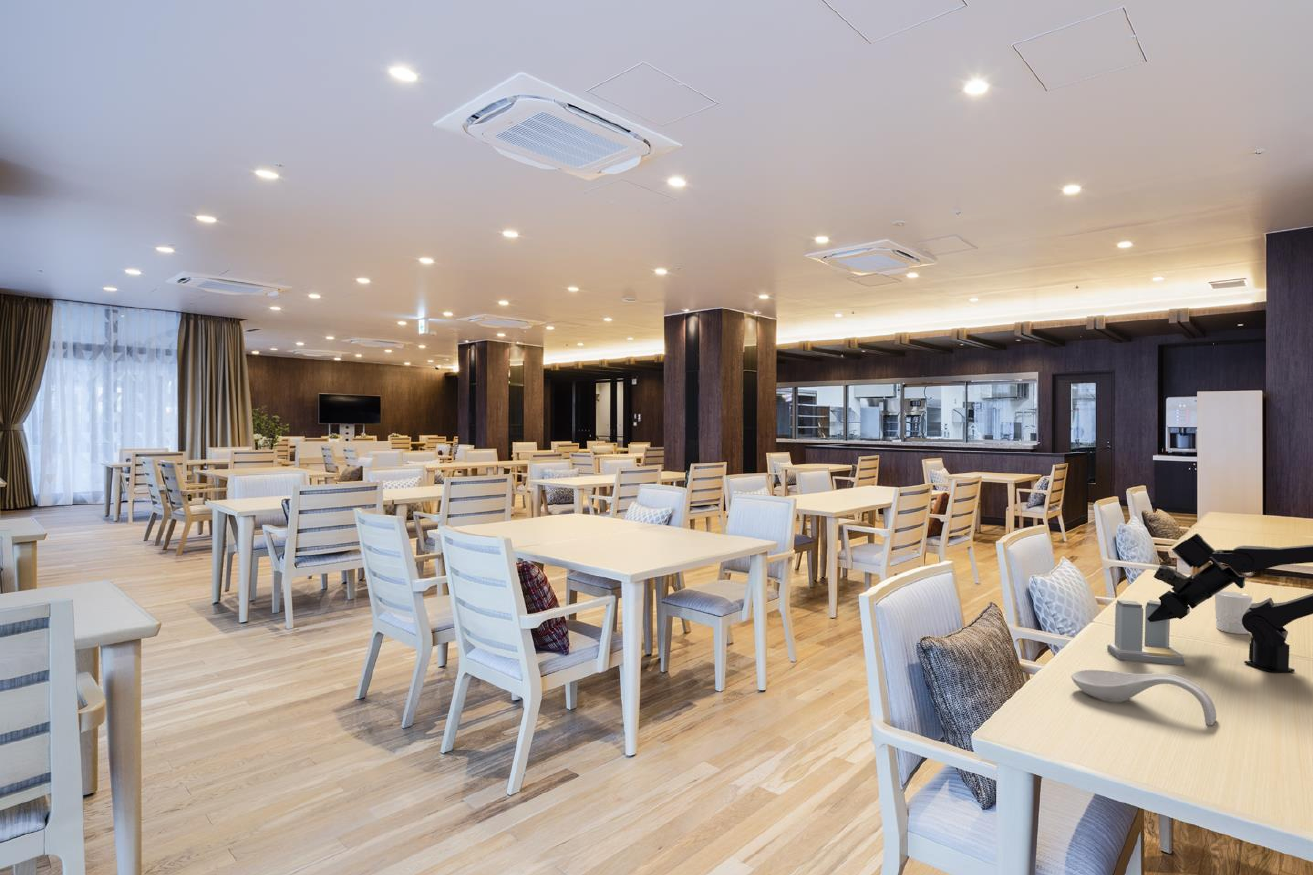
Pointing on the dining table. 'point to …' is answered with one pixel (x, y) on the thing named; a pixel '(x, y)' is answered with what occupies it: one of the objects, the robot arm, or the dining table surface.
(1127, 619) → the block
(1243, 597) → the white cup
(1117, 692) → the grey spoon
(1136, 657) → the rail board
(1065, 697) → the dining table surface
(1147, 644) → the block
